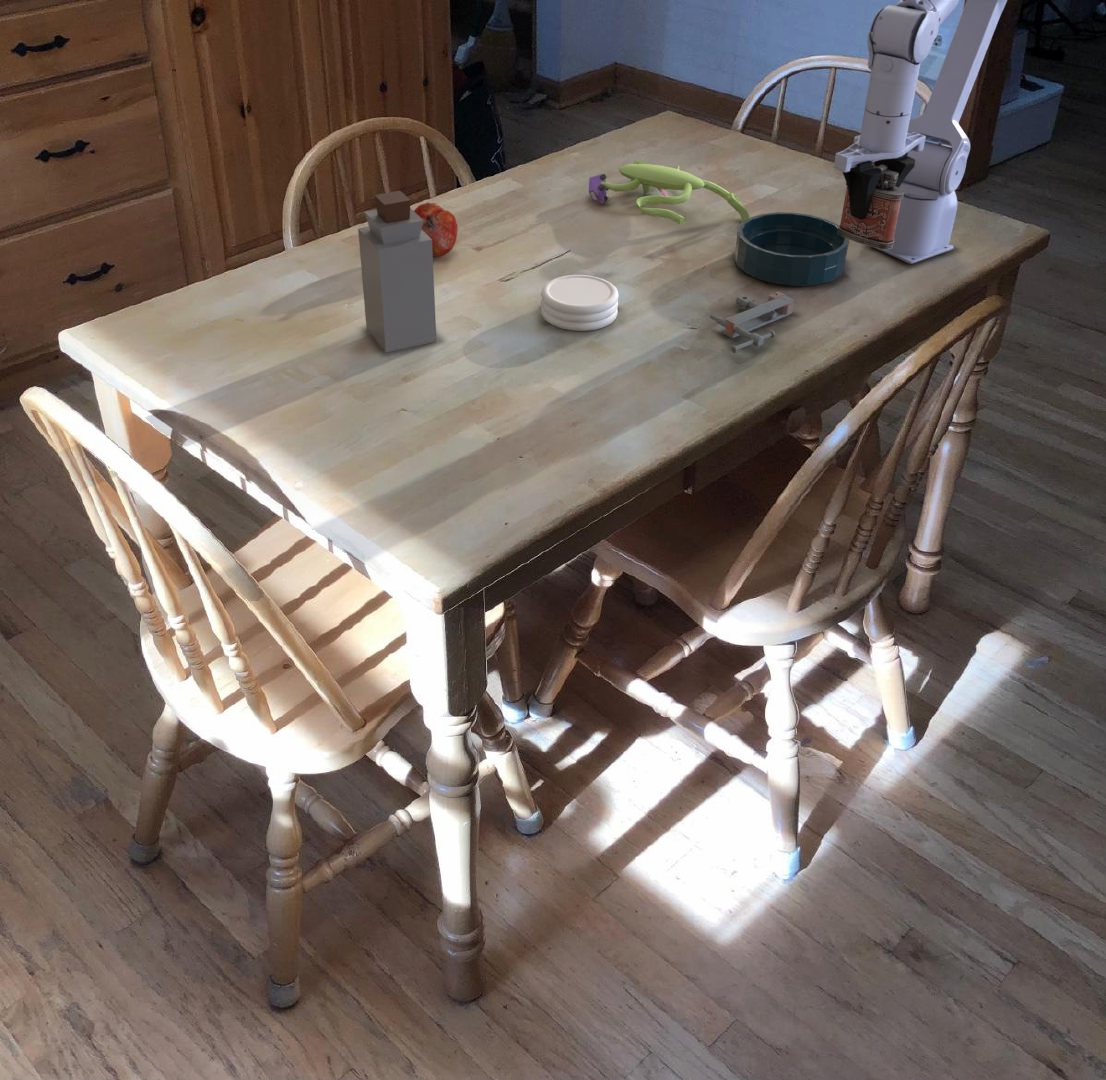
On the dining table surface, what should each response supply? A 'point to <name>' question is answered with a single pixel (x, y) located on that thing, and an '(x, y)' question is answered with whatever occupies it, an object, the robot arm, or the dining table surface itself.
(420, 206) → the pomegranate
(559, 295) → the coaster
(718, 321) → the clamp
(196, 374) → the dining table surface
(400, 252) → the perfume bottle
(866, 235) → the lighter
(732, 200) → the figurine
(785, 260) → the bowl
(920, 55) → the robot arm
